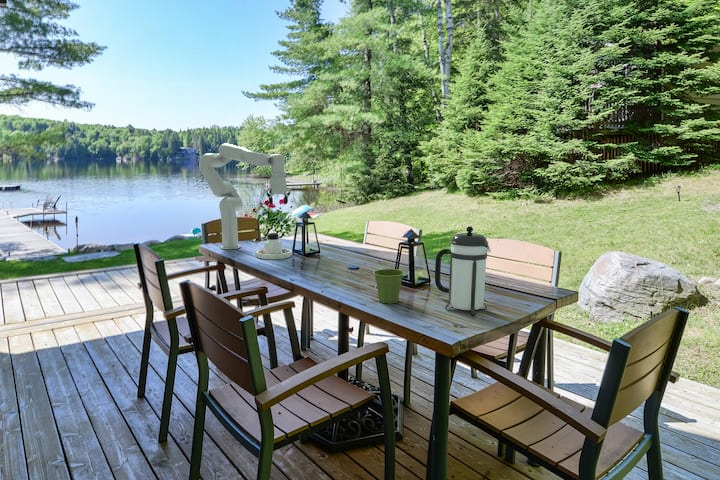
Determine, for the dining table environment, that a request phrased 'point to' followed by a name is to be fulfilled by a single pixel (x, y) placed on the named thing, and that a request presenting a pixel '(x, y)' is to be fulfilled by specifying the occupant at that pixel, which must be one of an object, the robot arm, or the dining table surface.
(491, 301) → the dining table surface
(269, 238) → the medicine bottle
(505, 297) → the dining table surface
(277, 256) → the tray
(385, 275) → the plant pot
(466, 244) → the coffee press
